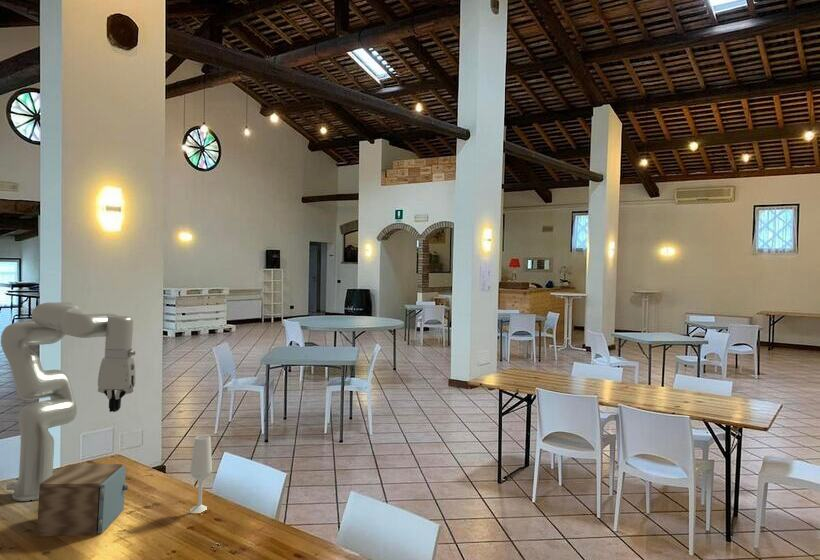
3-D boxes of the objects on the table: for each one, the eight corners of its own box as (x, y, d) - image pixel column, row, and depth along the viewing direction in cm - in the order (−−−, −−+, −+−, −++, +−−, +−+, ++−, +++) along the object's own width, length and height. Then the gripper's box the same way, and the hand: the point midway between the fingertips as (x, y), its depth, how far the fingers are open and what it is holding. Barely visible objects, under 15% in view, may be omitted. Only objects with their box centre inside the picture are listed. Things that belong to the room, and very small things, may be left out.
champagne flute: (185, 509, 173) (189, 436, 174) (206, 504, 178) (209, 433, 178) (192, 516, 168) (196, 441, 169) (213, 511, 173) (216, 438, 173)
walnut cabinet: (36, 536, 151) (39, 484, 152) (66, 511, 168) (68, 464, 169) (96, 535, 154) (98, 483, 154) (119, 510, 170) (122, 464, 171)
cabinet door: (96, 534, 153) (99, 485, 154) (119, 509, 170) (122, 466, 171) (105, 533, 154) (108, 485, 154) (127, 509, 171) (129, 465, 171)
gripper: (146, 353, 174) (143, 409, 174) (100, 351, 173) (96, 407, 173) (136, 356, 167) (132, 414, 166) (87, 354, 166) (83, 412, 165)
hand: (114, 410), depth 170 cm, fingers closed
